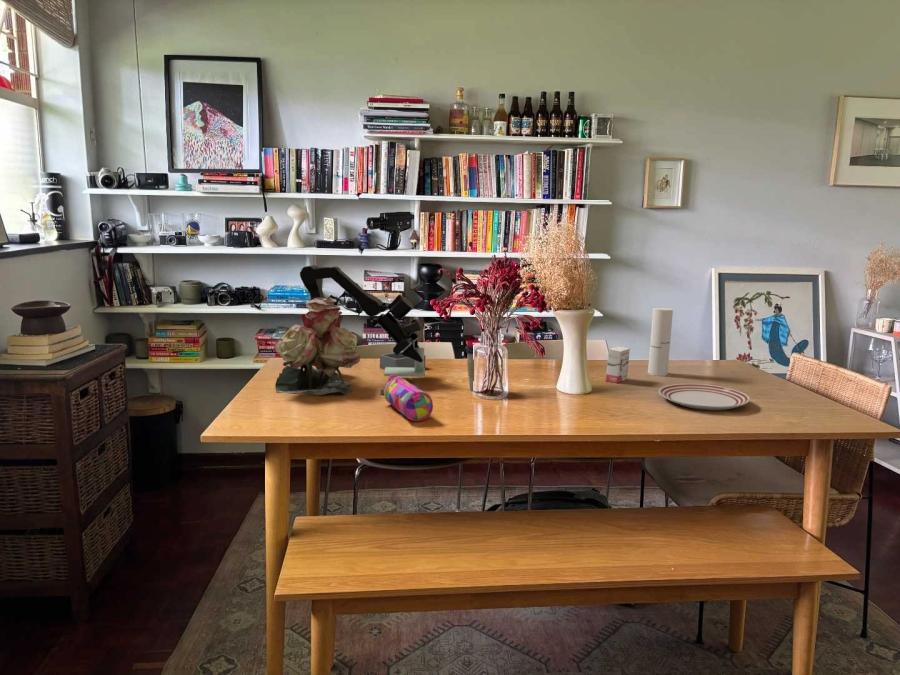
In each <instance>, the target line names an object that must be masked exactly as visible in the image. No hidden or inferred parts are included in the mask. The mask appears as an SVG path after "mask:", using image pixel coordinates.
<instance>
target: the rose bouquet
mask: <svg viewBox="0 0 900 675" xmlns="http://www.w3.org/2000/svg"><path fill="white" fill-rule="evenodd" d="M324 298H325V297H324ZM324 298H314V299H313V300H309V301H306V302H305V303H304V304H305V305H306V308H307V309H308V312H306V313H304V314H303V313H302V314H300V315H299V317H300V318H301V321H302V324H303V325H299V324H293V325H292V326H291V327H289V328H288V330H287V331H286V332H285V333H284V334H283V335H281V336H280V337H279V339H278V340H277V341H276V342H275V344H274V346H273V351H274V352H275V353H277V354H279V356H280V357H281V358H282V360H283V361H284V362H282V366H283V369H282V371H281V373H279V375H278V377H277V379H276V381H275V385H274V386H275V387H274V388H275V392H277V393H280V394H288V395H290V394H305V395H307V396H323V395H327V394H332V393H341V394H343V395H346V396H347V395H348V394H350V393H351V392H352V391H351V388H350V387H351V386H353V385H354V383H350V384H349V381H348V380H347V379H344V377H343V375H342V372H341V371H340V368H345V369H346V368H347V369H348V368H349V369H352V367H354V366H355V365H357V364H359V363H360V362H361V361H360V360H361V356H360V352H356V350H355V349H357V348H358V347H357V344H358V337H357V335H356V334H354V333H353V332H352V331H351V330H349V329H347V328H345V327H341V323H342V321H343V315H342V314H343V312H342V311H341V307H340V306H339V305H335V303H336V302H337V299H334V298H332V297H329V298H325V299H324ZM335 372H336V373H335ZM337 373H338V374H337Z"/></svg>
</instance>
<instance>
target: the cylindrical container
mask: <svg viewBox="0 0 900 675" xmlns="http://www.w3.org/2000/svg"><path fill="white" fill-rule="evenodd" d="M673 312H674V309H673V308H669V307H653V308H652V318H651V327H650V328H651V329H650V331H651V332H650V340H649V341H650V342H649V344H650V345H649V353H648V354H649V356H648V366H647V367H648V368H647V374H648V373H649V374H648V375H650V374H651V375H650V376H654V375H656V376H655V377H666V375H667V376H668V370H669V360H670V349H671V348H670V347H671V337H672V328H673V327H672V325H673Z"/></svg>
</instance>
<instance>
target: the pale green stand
mask: <svg viewBox="0 0 900 675" xmlns="http://www.w3.org/2000/svg"><path fill="white" fill-rule="evenodd" d="M415 349H416V350H417V352H418V353H419V355H420V356H421V358H422V359H423V361H422V362H418V361H416V360H415V368H406V367H385V369H384V373H383V376H384V377H390V376H392V375H396V376H397V377H409V378H410V377H414V378H415V377H417V378H419V377H420V378H421V377H426V367H425V368H424V355H425V348H424V347H419V348H415Z"/></svg>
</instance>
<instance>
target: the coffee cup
mask: <svg viewBox="0 0 900 675" xmlns="http://www.w3.org/2000/svg"><path fill="white" fill-rule="evenodd" d="M474 344H475V343H472V344H468V346H467V348H466V349H465V353H467V354H466V355H467V356H466V357H467V359H466V362H467V363H466V364H467V375H468V384H469V391H470V392H473V381H474V360H473V345H474Z"/></svg>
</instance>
